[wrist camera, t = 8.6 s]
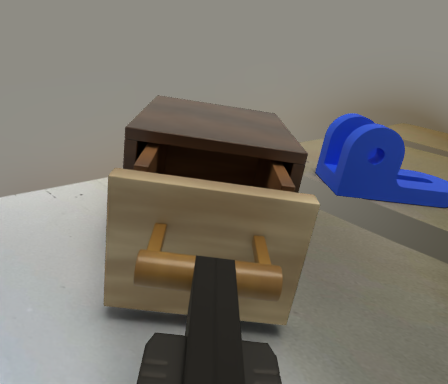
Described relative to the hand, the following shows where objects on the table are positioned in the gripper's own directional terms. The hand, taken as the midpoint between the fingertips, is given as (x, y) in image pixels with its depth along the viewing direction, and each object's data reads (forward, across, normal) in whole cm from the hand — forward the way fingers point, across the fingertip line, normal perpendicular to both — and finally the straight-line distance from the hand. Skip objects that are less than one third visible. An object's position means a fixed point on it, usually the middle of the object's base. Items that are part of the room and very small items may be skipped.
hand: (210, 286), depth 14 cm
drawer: (+9, 0, -5) cm, 10 cm away
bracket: (+34, +25, -7) cm, 43 cm away
